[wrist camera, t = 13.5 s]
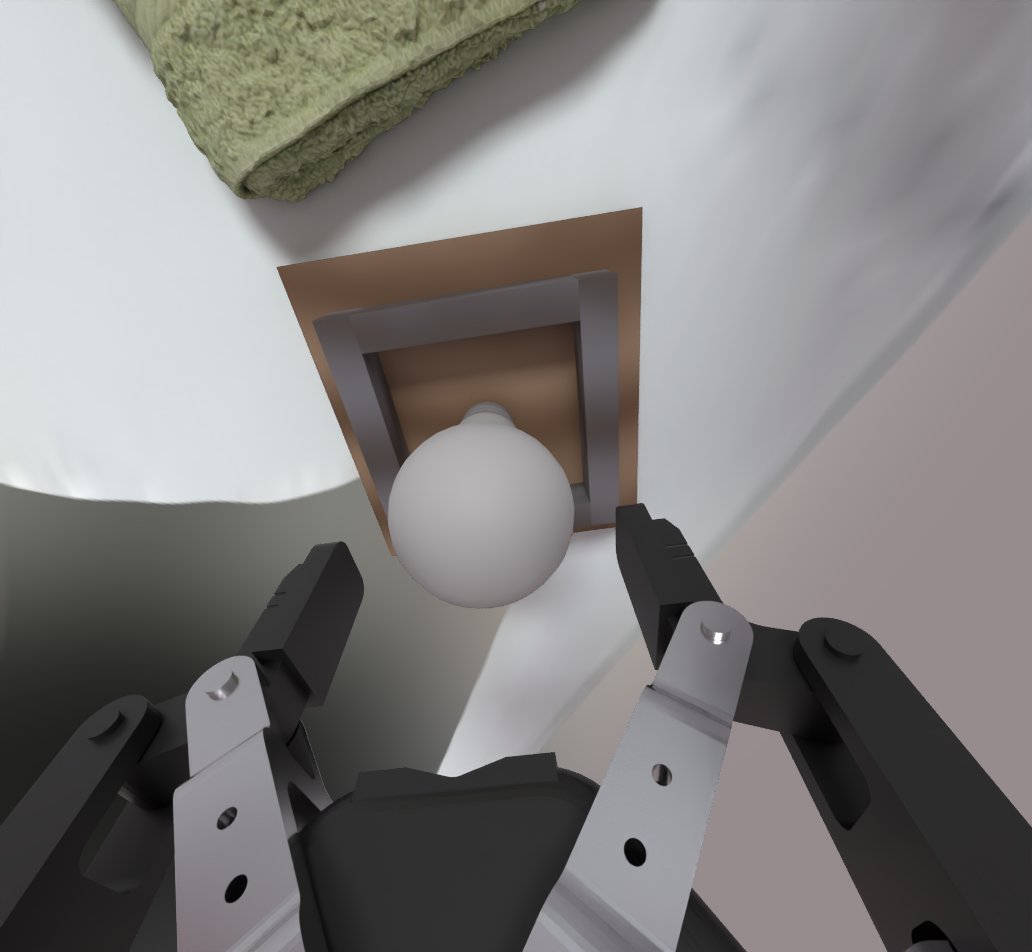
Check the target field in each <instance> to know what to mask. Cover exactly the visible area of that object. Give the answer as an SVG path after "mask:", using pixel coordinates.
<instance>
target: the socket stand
mask: <svg viewBox="0 0 1032 952" xmlns="http://www.w3.org/2000/svg"><path fill="white" fill-rule="evenodd" d="M641 257H642V207H640V208H634V209H628V210H622V211H616V212H610V213H604V214H598V215H591V216H585V217H579V218H573V219H567V220H561V221H555V222H549V223H543V224H537V225H530V226H524V227H518V228H512V229H506V230H500V231H494V232H488V233H482V234H475V235H469V236H463V237H457V238H451V239H445V240H439V241H433V242H427V243H420V244H414V245H408V246H402V247H396V248H390V249H384V250H378V251H372V252H365V253H359V254H353V255H347V256H341V257H335V258H329V259H323V260H317V261H311V262H304V263H298V264H292V265H286V266H280V267H277V270H278V272H279V275H280V277H281V280H282V282H283V285H284V287H285V290H286V292H287V295H288V297H289V300H290V302H291V305H292V307H293V310H294V312H295V315H296V317H297V320H298V322H299V325H300V327H301V330H302V332H303V335H304V337H305V340H306V342H307V345H308V347H309V350H310V353H311V355H312V358H313V360H314V363H315V365H316V368H317V370H318V373H319V375H320V378H321V380H322V383H323V385H324V388H325V390H326V393H327V395H328V398H329V400H330V403H331V405H332V408H333V410H334V413H335V415H336V418H337V420H338V423H339V425H340V428H341V430H342V433H343V435H344V438H345V440H346V443H347V445H348V448H349V450H350V453H351V455H352V458H353V460H354V463H355V465H356V468H357V470H358V473H359V475H360V478H361V480H362V482H363V485H364V488H365V490H366V493H367V495H368V498H369V500H370V503H371V505H372V508H373V510H374V513H375V515H376V518H377V520H378V522H379V525H380V528H381V530H382V533H383V535H384V538H385V540H386V543H387V545H388V548H389V550H390V553H391V555H392V556H397V555H396V553H395V551H394V549H393V545H392V540H391V536H390V531H389V526H388V507H389V497H390V493H391V490H392V486H393V483H394V481H395V478H396V476H397V474H398V472H399V470H400V469H401V467H402V465H403V464H404V462H405V460H406V459H407V458H408V457H409V456H410V455H411V454H412V453H413V452H414V451H415V450H416V449H417V448H418V447H419V446H420V445H421V444H422V443H423V442H424V441H426V440H427V439H429V438H430V437H432V436H433V435H435V434H436V433H438V432H440V431H443V430H445V429H447V428H450V427H452V426H456V425H459V424H460V423H461V422H462V420H463V418H464V416H465V414H466V412H467V411H468V410H469V409H470V408H471V407H472V406H474V405H476V404H478V403H482V402H493V403H497V404H499V405H501V406H503V407H504V408H505V409H506V410H507V411H508V412H509V413H510V415H511V417H512V419H513V423H514V425H515V427H516V428H517V429H519V430H522V431H523V432H525V433H527V434H528V435H530V436H532V437H534V438H535V439H537V440H538V441H539V442H540V443H541V444H542V445H543V446H545V447H546V448H547V449H548V450H549V451H550V453H551V454H552V455H553V456H554V458H555V459H556V460H557V462H558V463H559V464H560V466H561V467H562V468H563V470H564V472H565V475H566V477H567V479H568V482H569V484H570V488H571V491H572V496H573V502H574V523H573V533H574V532H582V531H590V530H597V529H605V528H612V527H616V516H615V512H616V507H617V506H624V505H632V504H637V464H638V413H639V361H640V309H641Z"/></svg>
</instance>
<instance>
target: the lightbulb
mask: <svg viewBox="0 0 1032 952" xmlns="http://www.w3.org/2000/svg"><path fill="white" fill-rule="evenodd" d="M573 523H574V502H573V496H572V491H571V488H570V484H569V482H568V479H567V477H566V475H565V472H564V470H563V468H562V467H561V466H560V464H559V463H558V462H557V460H556V459H555V458H554V456H553V455H552V454H551V453H550V451H549V450H548V449H547V448H546V447H545V446H543V445H542V444H541V443H540V442H539V441H538V440H537V439H535V438H534V437H532V436H530V435H528V434H527V433H525V432H523V431H522V430H519V429H517V428H516V427H515V425H514V423H513V419H512V417H511V415H510V413H509V412H508V411H507V410H506V409H505V408H504V407H503V406H501V405H499V404H497V403H493V402H482V403H478V404H476V405H474V406H472V407H471V408H470V409H469V410H468V411H467V412H466V414H465V416H464V418H463V420H462V422H461V423H460V424H459V425H456V426H452V427H450V428H447V429H445V430H443V431H440V432H438V433H436V434H435V435H433V436H432V437H430V438H429V439H427V440H426V441H424V442H423V443H422V444H421V445H420V446H419V447H418V448H417V449H416V450H415V451H414V452H413V453H412V454H411V455H410V456H409V457H408V458H407V459H406V460H405V462H404V464H403V465H402V467H401V469H400V470H399V472H398V474H397V476H396V478H395V481H394V483H393V486H392V490H391V493H390V497H389V507H388V526H389V531H390V536H391V540H392V545H393V549H394V551H395V553H396V555H397V557H398V559H399V561H400V563H401V564H402V565H403V567H404V568H405V570H406V571H407V572H408V573H409V575H410V576H411V577H412V579H413V580H414V581H415V582H416V583H418V584H419V585H420V586H421V587H422V588H424V589H425V590H426V591H427V592H429V593H430V594H432V595H433V596H435V597H437V598H438V599H440V600H443V601H445V602H448V603H450V604H453V605H457V606H461V607H466V608H477V609H478V608H479V609H480V608H493V607H500V606H504V605H507V604H510V603H513V602H516V601H518V600H520V599H522V598H524V597H526V596H527V595H529V594H530V593H532V592H533V591H535V590H536V589H537V588H539V587H540V586H542V585H543V584H544V583H545V582H546V581H547V580H548V578H549V577H550V576H551V575H552V574H553V573H554V572H555V570H556V569H557V568H558V567H559V565H560V563H561V562H562V560H563V558H564V557H565V555H566V552H567V548H568V545H569V542H570V539H571V536H572V533H573Z"/></svg>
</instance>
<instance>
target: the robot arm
mask: <svg viewBox="0 0 1032 952" xmlns="http://www.w3.org/2000/svg"><path fill="white" fill-rule="evenodd" d="M615 516H616V554H617V560H618V564H619V568H620V571H621V574H622V576H623V579H624V582H625V585H626V588H627V591H628V594H629V596H630V599H631V602H632V605H633V608H634V611H635V614H636V617H637V619H638V622H639V625H640V628H641V631H642V634H643V637H644V639H645V642H646V645H647V648H648V651H649V654H650V657H651V660H652V662H653V665H654V668H655V670H658V672H657V674H656V676H655V679H654V681H653V683H652V684H651V685H647V686H646V687H645V689H644V690H643V692H642V694H641V696H640V698H639V700H638V702H637V705H636V707H635V709H634V711H633V714H632V716H631V718H630V721H629V723H628V725H627V728H626V730H625V732H624V734H623V737H622V739H621V741H620V743H619V746H618V748H617V750H616V753H615V755H614V757H613V759H612V762H611V764H610V766H609V768H608V771H607V773H606V775H605V778H604V780H603V782H602V785H601V786H600V785H598V784H597V783H595V782H594V781H592V780H591V779H589V778H587V777H585V776H583V775H581V774H579V773H576V772H573V771H570V770H567V769H563V768H559V767H557V762H556V756H555V753H554V752H551V753H542V754H532V755H522V756H512V757H505V758H503V759H500V760H498V761H495V762H493V763H490V764H488V765H485V766H483V767H480V768H478V769H476V770H473V771H471V772H468V773H466V774H463V775H461V776H458V777H447V776H442V775H438V774H433V773H428V772H424V771H419V770H415V769H410V768H396V769H387V770H378V771H367V772H359V773H358V776H357V780H356V784H355V788H354V791H352V792H350V793H348V794H346V795H344V796H343V797H341V798H339V799H337V800H336V801H334V802H332V800H331V799H330V797H329V795H328V794H327V792H326V790H325V787H324V785H323V782H322V779H321V776H320V773H319V770H318V767H317V764H316V761H315V758H314V755H313V752H312V749H311V746H310V743H309V740H308V737H307V734H306V731H305V728H304V725H303V723H302V722H301V720H300V717H301V715H302V713H303V710H304V708H307V707H316V706H323V704H324V701H325V699H326V696H327V693H328V691H329V688H330V685H331V682H332V680H333V677H334V675H335V672H336V669H337V666H338V664H339V661H340V658H341V656H342V653H343V650H344V648H345V645H346V642H347V640H348V637H349V634H350V631H351V629H352V626H353V623H354V620H355V618H356V615H357V612H358V610H359V607H360V604H361V602H362V599H363V595H364V584H363V579H362V577H361V575H360V572H359V570H358V568H357V566H356V564H355V562H354V560H353V557H352V556H351V553H350V551H349V549H348V547H347V545H346V544H345V543H344V542H333V543H325V544H318V545H315V546H314V547H313V548H312V549H311V551H310V553H309V555H308V556H307V558H306V560H305V561H304V563H303V564H299V565H298V566H296V567H295V568H294V569H293V570H292V571H291V572H290V573H289V574H288V575H287V576H286V577H285V578H284V579H283V580H282V582H281V584H280V585H279V587H278V588H277V590H276V592H275V596H273V597H272V598H271V600H270V601H269V603H268V605H267V609H265V610H264V611H263V613H262V614H261V616H260V618H259V619H258V621H257V623H256V624H255V626H254V627H253V629H252V631H251V632H250V634H249V635H248V637H247V639H246V640H245V642H244V644H243V645H242V647H241V649H240V650H239V652H238V653H237V655H236V656H235V657H231V658H228V659H226V660H224V661H222V662H220V663H218V664H216V665H215V666H213V667H212V668H210V669H209V670H208V671H206V672H205V673H204V674H203V675H202V676H201V677H200V678H199V679H198V680H197V681H196V682H195V684H194V685H193V686H192V688H191V689H190V692H188V693H186V694H183V695H181V696H178V697H175V698H173V699H170V700H168V701H165V702H162V703H160V704H158V705H155V706H153V705H152V704H151V703H150V702H149V701H148V700H147V699H146V698H144V697H143V696H141V695H130V696H126V697H123V698H120V699H118V700H116V701H114V702H112V703H110V704H108V705H106V706H105V707H103V708H102V709H100V710H99V711H97V712H96V713H95V714H93V715H92V716H91V717H90V718H89V719H87V720H86V721H85V722H84V723H83V724H82V725H81V726H80V727H79V728H78V730H77V731H76V732H75V733H74V734H73V736H72V737H71V738H70V739H69V741H68V742H67V743H66V745H65V746H64V747H63V748H62V750H61V751H60V752H59V753H58V755H57V756H56V757H55V758H54V760H53V761H52V762H51V763H50V765H49V766H48V767H47V768H46V770H45V771H44V772H43V773H42V775H41V776H40V777H39V779H38V780H37V781H36V782H35V784H34V785H33V786H32V787H31V789H30V790H29V791H28V792H27V794H26V795H25V796H24V798H23V799H22V800H21V801H20V802H19V804H18V805H17V806H16V808H15V809H14V810H13V811H12V813H11V814H10V815H9V817H8V818H7V819H6V820H5V822H4V823H3V824H2V825H1V826H0V952H128V951H129V949H130V947H131V945H132V942H133V940H134V938H135V937H136V934H137V932H138V930H139V928H140V926H141V924H142V922H143V920H144V918H145V915H146V914H147V911H148V909H149V907H150V905H151V903H152V901H153V899H154V897H155V895H156V893H157V890H158V888H159V886H160V884H161V882H162V880H163V878H164V876H165V874H166V872H167V870H168V867H169V865H170V863H171V861H172V859H173V857H174V855H175V879H176V910H177V911H176V912H177V943H178V944H177V945H178V952H746V951H745V949H744V948H743V947H742V946H741V945H740V944H739V942H738V941H737V940H736V939H735V938H734V937H733V935H732V934H731V933H730V932H729V931H728V929H727V928H726V927H725V926H724V925H723V924H722V922H721V921H720V920H719V919H718V918H717V917H716V915H715V914H714V913H713V912H712V911H711V909H710V908H708V906H707V905H706V904H705V902H704V901H703V900H702V899H701V898H700V897H699V895H698V894H697V893H696V892H695V891H694V890H693V888H692V883H693V879H694V875H695V871H696V867H697V863H698V859H699V855H700V851H701V847H702V843H703V839H704V835H705V831H706V828H707V823H708V820H709V815H710V812H711V808H712V804H713V800H714V796H715V792H716V787H717V783H718V780H719V776H720V772H721V767H722V763H723V760H724V756H725V752H726V748H727V744H728V739H729V736H730V732H731V727H732V722H733V721H735V722H740V723H745V724H748V725H753V726H758V727H761V728H766V729H770V730H775V731H779V732H780V734H781V736H782V738H783V739H784V742H785V744H786V745H787V748H788V750H789V752H790V754H791V756H792V758H793V760H794V762H795V764H796V766H797V768H798V770H799V772H800V774H801V776H802V778H803V780H804V782H805V784H806V787H807V788H808V791H809V792H810V795H811V797H812V799H813V801H814V803H815V805H816V807H817V809H818V811H819V813H820V815H821V817H822V819H823V821H824V823H825V825H826V827H827V829H828V831H829V833H830V835H831V837H832V839H833V841H834V844H835V845H836V848H837V850H838V852H839V853H840V856H841V858H842V860H843V862H844V864H845V866H846V868H847V870H848V872H849V874H850V876H851V878H852V880H853V882H854V884H855V886H856V888H857V890H858V892H859V894H860V896H861V898H862V900H863V902H864V904H865V906H866V909H867V911H868V913H869V915H870V917H871V919H872V921H873V923H874V925H875V927H876V929H877V931H878V933H879V935H880V937H881V939H882V941H883V943H884V945H885V947H886V949H887V951H888V952H1032V827H1031V826H1030V825H1029V824H1028V822H1027V821H1026V820H1025V819H1024V818H1023V816H1022V815H1021V814H1020V813H1019V811H1018V810H1017V809H1016V808H1015V807H1014V805H1013V804H1012V803H1011V802H1010V801H1009V799H1008V798H1007V797H1006V796H1005V795H1004V793H1003V792H1002V791H1001V790H1000V789H999V787H998V786H997V785H996V784H995V783H994V781H993V780H992V779H991V778H990V777H989V775H988V774H987V773H986V772H985V771H984V769H983V768H982V767H981V766H980V765H979V763H978V762H977V761H976V760H975V759H974V757H973V756H972V755H971V754H970V752H969V751H968V750H967V749H966V748H965V746H964V745H963V744H962V743H961V742H960V740H959V739H958V738H957V737H956V736H955V734H954V733H953V732H952V731H951V730H950V728H949V727H948V726H947V725H946V724H945V722H944V721H943V720H942V719H941V718H940V716H939V715H938V714H937V713H936V712H935V710H934V709H933V708H932V707H931V706H930V704H929V703H928V702H927V701H926V700H925V698H924V697H923V696H922V695H921V693H920V692H919V691H918V690H917V689H916V687H915V686H914V685H913V684H912V683H911V681H910V680H909V679H908V678H907V677H906V675H905V674H904V673H903V672H902V671H901V669H900V668H899V667H898V666H897V665H896V664H895V662H894V661H893V660H892V659H891V657H890V656H889V655H888V654H887V653H886V651H885V650H884V649H883V648H882V647H881V645H880V644H879V643H878V642H877V641H876V640H875V639H874V638H873V637H872V636H870V635H869V634H868V633H866V632H865V631H863V630H862V629H860V628H858V627H856V626H854V625H852V624H850V623H848V622H845V621H841V620H838V619H834V618H814V619H811V620H809V621H806V622H805V623H804V624H803V625H802V626H801V628H800V630H799V632H796V631H790V630H782V629H777V628H770V627H764V626H760V625H756V624H753V623H750V622H748V621H747V620H746V618H745V617H744V616H743V615H742V614H741V613H739V612H738V611H737V610H735V609H733V608H732V607H730V606H727V605H725V604H723V602H722V601H721V599H720V597H719V596H718V594H717V592H716V591H715V589H714V587H713V586H712V584H711V582H710V581H709V579H708V577H707V576H706V574H705V572H704V570H703V569H702V567H701V565H700V564H699V562H698V560H697V559H696V557H694V553H693V552H692V550H691V548H690V547H689V546H688V545H687V542H686V540H685V538H684V537H683V535H682V533H681V531H680V530H679V529H678V528H677V527H676V526H674V525H673V524H672V523H670V522H669V521H668V520H666V519H665V518H664V519H656V520H652V519H651V517H650V515H649V513H648V511H647V509H646V507H645V505H644V504H643V503H640V504H632V505H624V506H617V507H616V512H615ZM117 794H120V795H121V796H123V797H124V798H125V799H127V800H129V802H128V804H127V805H126V807H125V808H124V810H123V812H122V813H121V815H120V817H119V818H118V820H117V822H116V823H115V825H114V827H113V828H112V830H111V832H110V834H109V835H108V836H107V838H106V840H105V842H104V843H103V845H102V847H101V848H100V850H99V852H98V853H97V855H96V856H95V858H94V860H93V861H92V863H91V865H90V866H89V868H88V870H87V871H86V873H85V875H84V876H82V875H81V873H80V870H79V859H80V856H81V853H82V850H83V848H84V846H85V844H86V843H87V841H88V839H89V838H90V836H91V835H92V833H93V832H94V830H95V828H96V827H97V825H98V824H99V822H100V820H101V819H102V817H103V815H104V814H105V813H106V811H107V809H108V808H109V806H110V804H111V803H112V801H113V800H114V798H115V797H116V795H117Z"/></svg>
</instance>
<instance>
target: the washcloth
mask: <svg viewBox="0 0 1032 952" xmlns="http://www.w3.org/2000/svg"><path fill="white" fill-rule="evenodd" d="M113 1H114V2H115V3H116V4H117V5H118V7H119V8H120V10H121V12H122V13H123V15H124V16H125V18H126V19H127V20H128V22H129V23H130V25H131V26H132V27H133V29H134V30H135V31H136V33H137V34H138V35H139V36H140V37H141V39H142V40H143V42H144V44H145V45H146V47H147V48H148V50H149V51H150V52H151V55H150V57H151V59H152V61H153V65H154V72H155V74H156V76H157V77H158V78H159V79H160V80H161V82H162V84H163V85H164V87H165V89H166V90H165V91H166V95H167V99H168V100H169V101H170V102H171V103H172V104H173V106H174V107H175V108H177V114H178V115H179V117H180V118H181V119H182V121H183V122H184V124H185V126H186V128H187V130H188V133H189V135H190V137H191V139H192V140H193V142H194V144H195V146H196V147H197V148H198V149H199V151H200V152H202V153H203V154H204V155H206V157H207V158H208V160H209V162H210V165H211V166H212V168H213V170H214V171H215V173H216V174H217V176H218V177H219V179H220V180H221V181H223V182H225V183H226V184H227V185H228V186H229V187H230V189H231V190H232V191H233V192H234V193H235V194H236V195H237V196H238V197H240V198H242V199H255V198H259V197H266V196H269V197H273V198H275V199H278V200H280V199H286V200H288V201H289V202H298V201H301V200H303V199H305V198H306V195H307V193H308V192H310V191H311V190H312V189H316V188H317V186H318V185H319V184H324V183H325V182H330V183H332V182H333V180H334V178H335V177H336V175H337V174H338V173H339V171H340V170H342V169H344V168H345V162H351V161H353V160H354V158H355V156H358V155H359V154H360V153H361V152H362V151H363V150H364V149H365V148H366V147H367V145H368V144H369V143H370V142H371V141H372V140H373V139H374V138H375V137H376V136H377V135H378V134H380V133H381V132H385V131H388V130H389V129H390V128H391V127H392V126H393V125H397V124H399V123H400V122H401V121H402V120H403V119H405V118H407V117H409V116H411V113H412V109H415V108H422V107H424V106H425V104H426V102H427V99H428V98H429V96H430V95H431V93H432V92H433V91H437V90H440V89H442V88H443V89H447V87H448V85H449V84H450V83H451V82H452V80H453V78H460V77H462V76H463V75H464V73H465V72H466V71H467V70H468V69H469V68H470V67H472V68H473V69H475V70H477V71H478V70H479V69H480V68H481V67H482V64H483V63H484V62H489V59H490V57H491V58H492V59H494V60H495V59H497V56H498V53H499V47H501V48H502V49H503V50H507V48H508V45H509V42H510V39H513V40H515V39H516V38H518V39H521V38H522V37H523V32H524V31H525V30H529V29H530V28H531V29H535V26H536V24H541V23H542V22H543V21H544V19H546V18H548V17H550V16H552V15H555V14H557V13H558V14H562V13H563V12H567V11H568V10H569V9H571V8H572V7H573V6H574V5H576V3H577V2H578V1H579V0H113ZM489 56H490V57H489Z"/></svg>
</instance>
